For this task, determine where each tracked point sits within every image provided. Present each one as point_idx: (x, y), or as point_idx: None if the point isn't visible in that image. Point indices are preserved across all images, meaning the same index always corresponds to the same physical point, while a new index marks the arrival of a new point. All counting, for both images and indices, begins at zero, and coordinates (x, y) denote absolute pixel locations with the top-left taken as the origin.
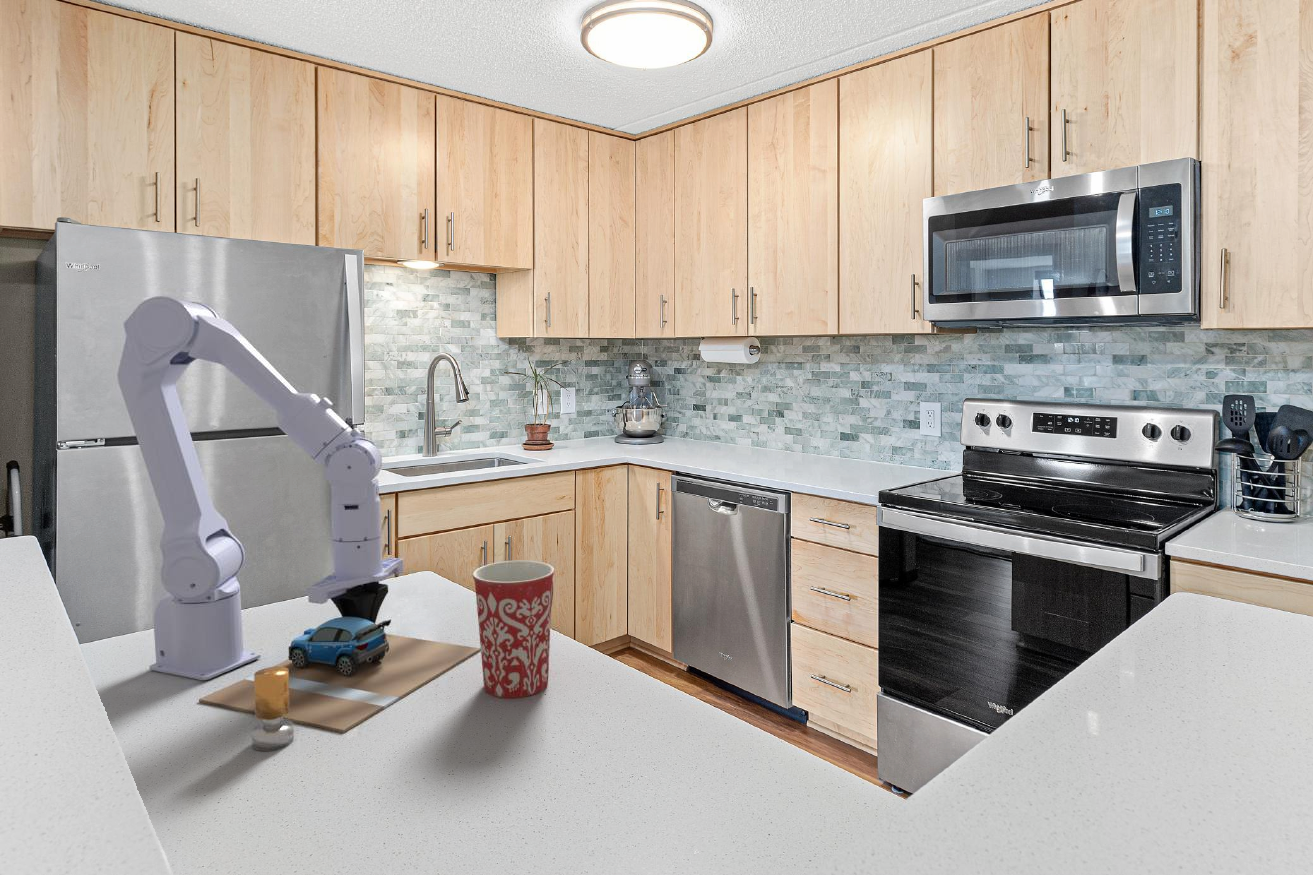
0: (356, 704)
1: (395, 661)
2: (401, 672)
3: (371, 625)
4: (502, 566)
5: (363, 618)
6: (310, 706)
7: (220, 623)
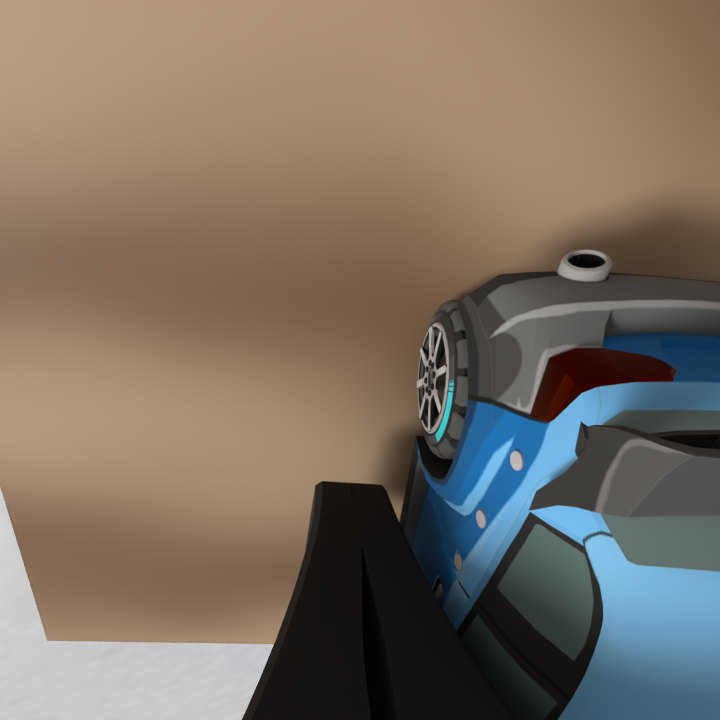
0: None
1: (434, 204)
2: (674, 7)
3: None
4: None
5: (493, 694)
6: None
7: None
